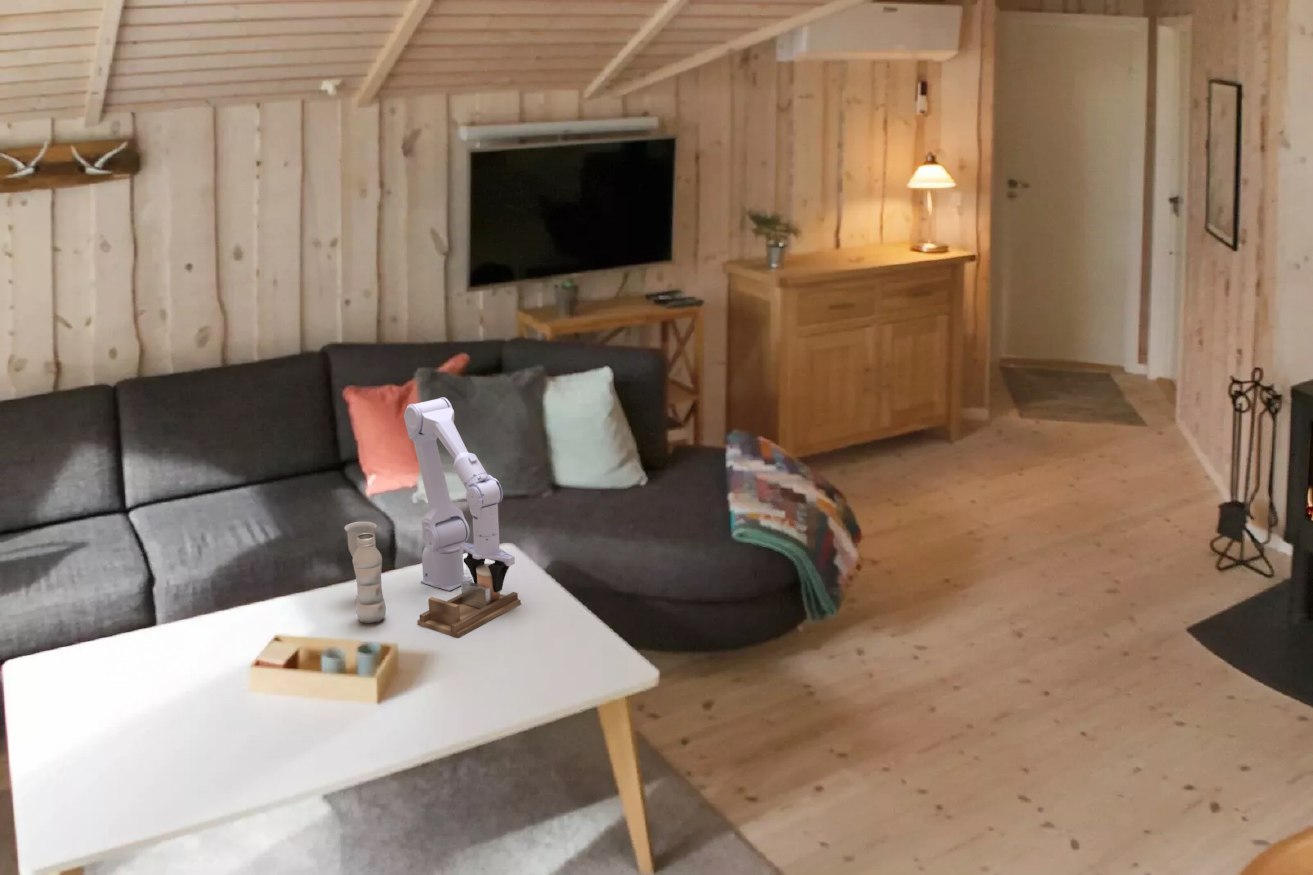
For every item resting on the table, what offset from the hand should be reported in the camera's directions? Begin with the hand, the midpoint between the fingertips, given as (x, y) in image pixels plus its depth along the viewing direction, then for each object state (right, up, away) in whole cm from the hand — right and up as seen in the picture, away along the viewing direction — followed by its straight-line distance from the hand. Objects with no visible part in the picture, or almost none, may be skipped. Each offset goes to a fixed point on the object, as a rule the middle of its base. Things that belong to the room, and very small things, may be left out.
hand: (488, 588), depth 300 cm
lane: (-4, -5, -4) cm, 8 cm away
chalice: (-29, -3, +3) cm, 29 cm away
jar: (0, -2, +1) cm, 2 cm away
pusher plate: (-2, -4, -3) cm, 5 cm away
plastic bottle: (-25, -7, -7) cm, 27 cm away
